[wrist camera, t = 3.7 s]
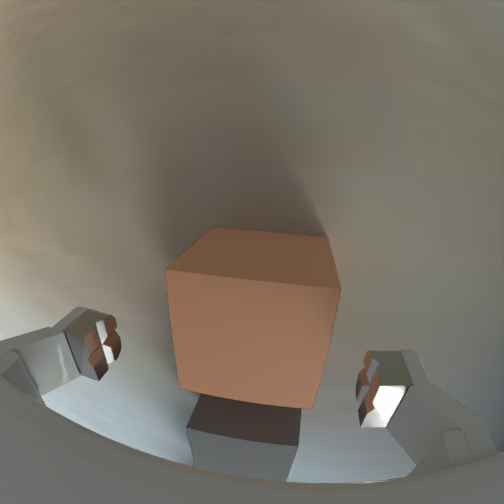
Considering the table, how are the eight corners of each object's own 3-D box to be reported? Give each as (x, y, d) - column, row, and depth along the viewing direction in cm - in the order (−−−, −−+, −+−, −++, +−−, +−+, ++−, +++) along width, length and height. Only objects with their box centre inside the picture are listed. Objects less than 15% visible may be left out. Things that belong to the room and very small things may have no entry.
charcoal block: (291, 424, 16) (283, 486, 12) (218, 413, 17) (196, 471, 13) (303, 373, 15) (298, 446, 10) (215, 361, 16) (186, 427, 11)
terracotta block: (312, 333, 14) (312, 408, 9) (215, 321, 15) (180, 388, 10) (327, 237, 12) (341, 288, 7) (214, 226, 13) (165, 269, 8)
